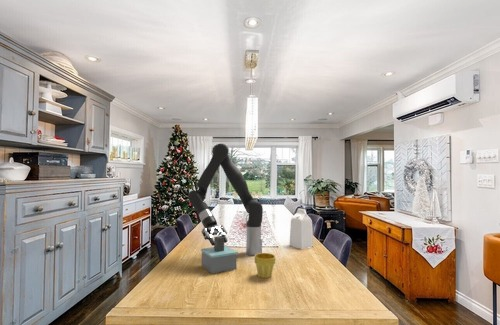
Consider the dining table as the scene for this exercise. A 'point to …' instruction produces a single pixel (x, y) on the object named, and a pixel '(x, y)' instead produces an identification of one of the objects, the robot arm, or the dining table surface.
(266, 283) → the dining table surface
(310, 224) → the milk
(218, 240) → the lid
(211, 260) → the tub
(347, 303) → the dining table surface
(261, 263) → the plant pot
